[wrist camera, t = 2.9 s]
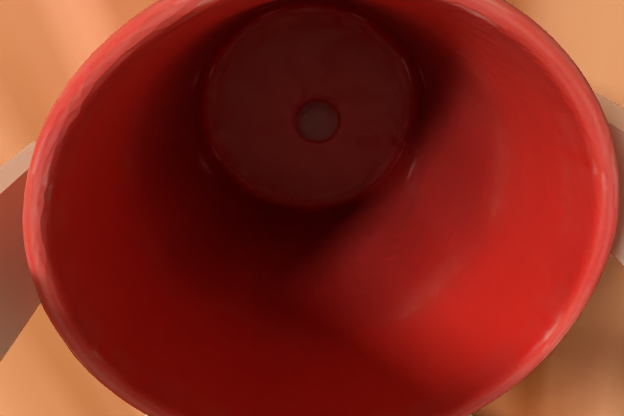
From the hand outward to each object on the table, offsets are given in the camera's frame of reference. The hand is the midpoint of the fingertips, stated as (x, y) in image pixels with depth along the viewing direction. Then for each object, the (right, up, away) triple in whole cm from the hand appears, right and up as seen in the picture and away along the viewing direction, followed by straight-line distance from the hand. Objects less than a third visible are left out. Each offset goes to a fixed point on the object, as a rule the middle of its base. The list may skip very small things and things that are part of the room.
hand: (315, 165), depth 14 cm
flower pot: (0, +2, +4) cm, 5 cm away
